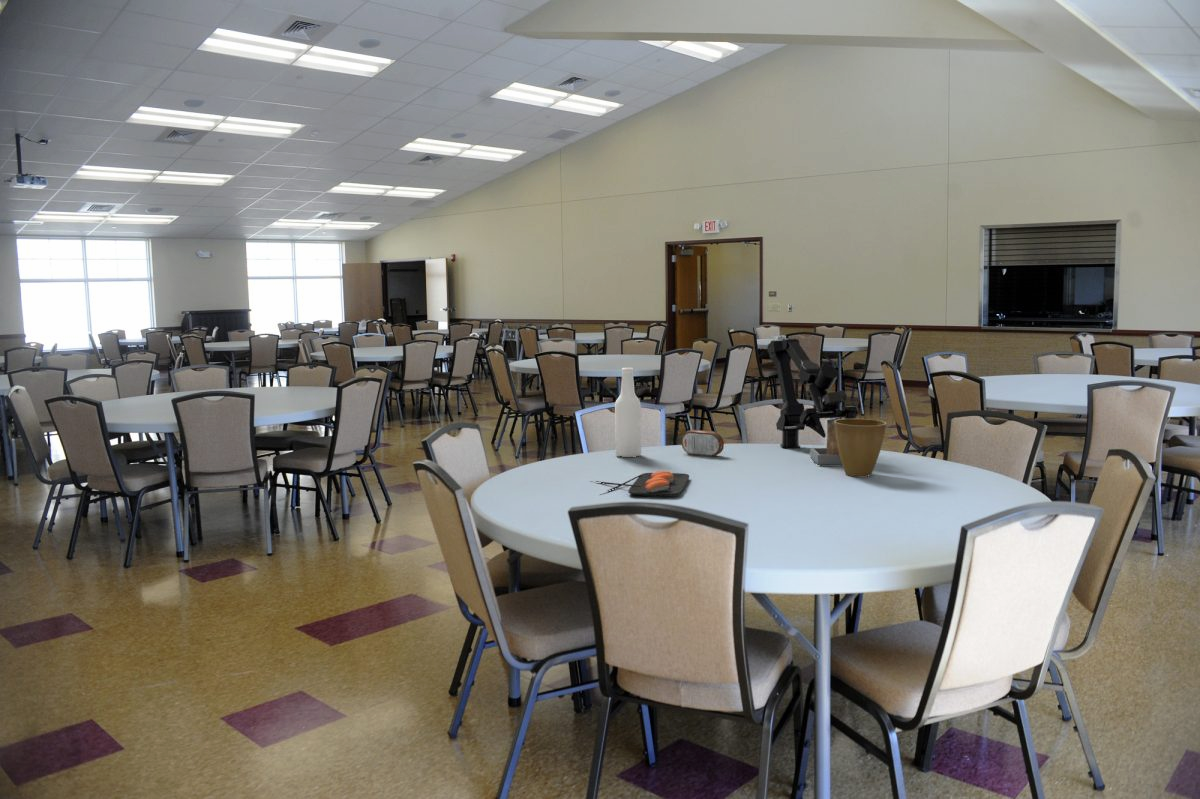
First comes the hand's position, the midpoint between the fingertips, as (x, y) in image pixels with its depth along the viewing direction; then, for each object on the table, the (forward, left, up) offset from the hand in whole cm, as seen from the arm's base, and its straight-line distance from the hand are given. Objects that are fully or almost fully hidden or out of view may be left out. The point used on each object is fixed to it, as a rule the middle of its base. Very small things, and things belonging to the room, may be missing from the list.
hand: (837, 436), depth 292 cm
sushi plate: (+37, -65, -9) cm, 75 cm away
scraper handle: (-1, 0, -8) cm, 8 cm away
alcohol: (-14, -67, -9) cm, 70 cm away
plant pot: (+20, +3, -9) cm, 22 cm away
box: (-1, 0, -9) cm, 9 cm away
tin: (-15, -42, -9) cm, 46 cm away
